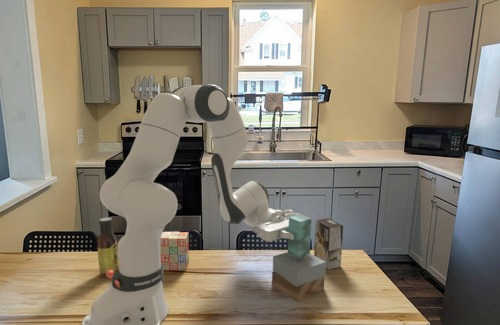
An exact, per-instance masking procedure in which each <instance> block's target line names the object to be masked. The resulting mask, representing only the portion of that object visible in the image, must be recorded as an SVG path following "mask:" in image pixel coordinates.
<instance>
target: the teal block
mask: <svg viewBox="0 0 500 325" xmlns="http://www.w3.org/2000/svg"><path fill="white" fill-rule="evenodd" d="M292 232H293V233H295V234H296V239H294V240H291V239H287V252H288V253H289V254H291V255H293V256H295V257H297V258H301V257H304V256H306V255H309V254H311V241H312V240H311V238H312V218H311V217H309V216H306V215H303V214H301V215H296V216H292V217H289V233H292Z"/></svg>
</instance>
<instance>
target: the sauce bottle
mask: <svg viewBox="0 0 500 325" xmlns="http://www.w3.org/2000/svg"><path fill="white" fill-rule="evenodd" d="M98 223H99V229H100V230H99V232H100V233H99V235H98V237H97V240H96V241H97V242H96V243H97V256H98V266H99V267H98V271H99V275H100V277H102V278H108V277H107V276H106V273H107V271H108V270H113V271H114V273H116V272H117V270H118V268H119V262H118V239H117V237H116V235H115V233H114V230H113V217H109V216H107V217H102V218H100V219H99V220H98Z"/></svg>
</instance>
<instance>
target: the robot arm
mask: <svg viewBox="0 0 500 325" xmlns="http://www.w3.org/2000/svg"><path fill="white" fill-rule="evenodd" d="M187 122H189V123H195V124H201V123H206V124H207V125H208V126H209V130H210V132H211V133H210V134H211V136H212V139H213V145H214V146H213V147H214V148H213V154H212V156H211V157H210V158H211V160H210V162H211V163H210V164H211V169H212V174H213V180H214V185H215V189H216V194H217V200H218V212H219V214H220V217H221V218H222V220H223V221H224V222H225V223H227V224H231V225H239V224H240V223H242V222H244V223H245V224H246V225H248V226H250V227H252V229H251V231H252V232H253V233H256V235H257V236H258V238H260V239H262V240H263V241H265V242H268V243H269V242H270V243H271V242H273V241H276V240H280V239H287V240H288V239H291V240H294V239H296V234H295V233H293V232H292V233H289V217H292V216H296V215H302V214H301V213H297V212H294V210H293V209H274V208H271V207H270V196H269V192H268V189H267V187H265V186H264V185H263V184H262V183H261V182H259V181H256V180H249V181H248V182H247V183H245V184H243V185H242V186H240V187H239V188H238V189H236V190H235V191H234V192H233V186H232V182H231V171H232V169H233V167H234V165H235V163H236V162H237V160H238V159H239V158H240V157H241V156H242V154H243V153H244V152H245V150H246V148H247V146H248V142H249V141H248V140H249V139H248V134H247V130H246V127H245V124H244V123H245V122H244V121H243V118H242V116H241V113H240V111H239V109H238V107H237V106H236V103H235V102H234V101H233V99H232V98H230V97H228V95H227V94H226V92H225V90H224V89H223V88H221V87H220V86H218V85H216V84H210V83H207V84H191V85H187V86H183V87H182V86H181V87H178V88H176V89H173V90H172V91H171V92H170V93H169V92H160V93H158V94H156V95H155V96H154V97H153V98H152V100H151V102H150V103H149V105H148V107H147V109H146V110H145V113H144V115H143V118H142V120H141V123H140V124H139V128H138V130H137V133H136V137H135V139H134V141H133V144H132V146H131V149H130V151H129V153H128V155H127V157H126V158H125V160H124V161H123V163H122V164H121V166H120V167H119V168H118V169H117V171H116V172H115V173H114V175H112V176H110V177H109V178H108V179H106V180H104V182H103V183H102V185H101V187H100V190H99V200H100V202H101V204H102V205H103V206H104V207H105V209H107V210H108V211H109V212H110V213H112V214H114V215H117V216H120V217H123V218H125V220H126V229H125V234H124V235H123V236H122V237H120V239H119V241H117V249H118V265H119V268H118V270H117V272H116V273H114V271H113V270H108V271H107V273H106V276H107V277H106V278H108V280H111V284H110V285H109V286H108V287H107V288H105V290H104V291H102V293H100V295H98V296H97V297H96V298H95V299H94V300H93V302H92V304H91V308H90V314H88V315H85V317H83V320H82V322H81V325H161V323H162V322H163V321H164V320H165V319H166V317H167V315H168V313H169V306H168V303H167V300H166V297H165V293H164V288H163V287H164V286H163V282H164V270H163V267H162V263H161V236H162V232H164V229H165V226H167V224H169V223H171V221H172V220H173V218H174V217H175V216H176V214H177V210H178V198H177V195H176V194H175V192H173V191H172V190H170V189H169V188H167V187H166V186H164V185H163V184H161V183H158V182H154V181H155V180H156V178H157V177H158V176H159V174H160V173H161V172H162V171H163V170H165V169H167V168H168V167H170V165H171V164H172V163H173V160H174V157H175V154H176V151H177V148H178V145H179V142H180V138H181V135H182V131H183V127H184V126H185V124H186V123H187Z"/></svg>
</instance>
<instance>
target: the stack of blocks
mask: <svg viewBox="0 0 500 325" xmlns="http://www.w3.org/2000/svg"><path fill="white" fill-rule="evenodd" d="M189 236H190V235H189V231H187V232H186V231H185V232H184V231H183V232H182V231H163V232H162V236H161V263H162V267H163V271H187V270H188V267H189V263H190V262H189V261H190V258H189V256H190V255H189V252H190V250H189V246H190V244H189V243H190V241H189V240H190V239H189Z"/></svg>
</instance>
